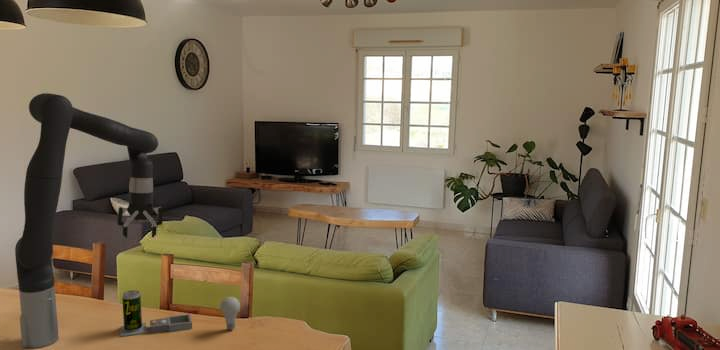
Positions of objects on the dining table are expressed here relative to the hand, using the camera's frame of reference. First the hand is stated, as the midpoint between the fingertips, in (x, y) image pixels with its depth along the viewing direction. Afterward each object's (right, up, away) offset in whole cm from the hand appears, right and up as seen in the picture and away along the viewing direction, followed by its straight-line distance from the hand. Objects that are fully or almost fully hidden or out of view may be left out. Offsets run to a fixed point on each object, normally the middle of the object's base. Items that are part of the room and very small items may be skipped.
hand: (139, 237), depth 189 cm
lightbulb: (+34, -29, -11) cm, 46 cm away
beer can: (+3, -28, -13) cm, 31 cm away
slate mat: (+3, -28, -13) cm, 31 cm away
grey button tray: (+14, -28, -10) cm, 33 cm away
